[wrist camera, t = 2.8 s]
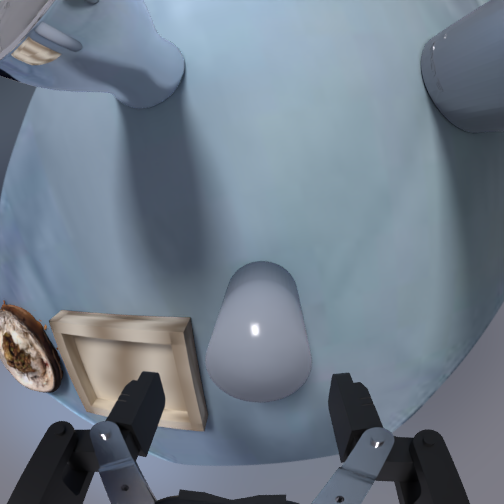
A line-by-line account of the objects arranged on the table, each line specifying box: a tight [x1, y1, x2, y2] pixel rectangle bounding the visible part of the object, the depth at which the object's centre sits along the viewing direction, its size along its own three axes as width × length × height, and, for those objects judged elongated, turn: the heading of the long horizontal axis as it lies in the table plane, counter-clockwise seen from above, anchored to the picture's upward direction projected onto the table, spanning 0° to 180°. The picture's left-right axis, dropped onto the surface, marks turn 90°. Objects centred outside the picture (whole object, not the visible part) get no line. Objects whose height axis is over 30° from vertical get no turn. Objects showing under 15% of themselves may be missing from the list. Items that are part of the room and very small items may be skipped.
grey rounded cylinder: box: [205, 261, 312, 402], centre depth 19 cm, size 6×6×9 cm
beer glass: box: [0, 0, 184, 109], centre depth 11 cm, size 7×7×15 cm
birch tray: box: [49, 310, 208, 431], centre depth 25 cm, size 14×12×2 cm
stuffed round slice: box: [0, 300, 63, 392], centre depth 26 cm, size 15×15×4 cm
